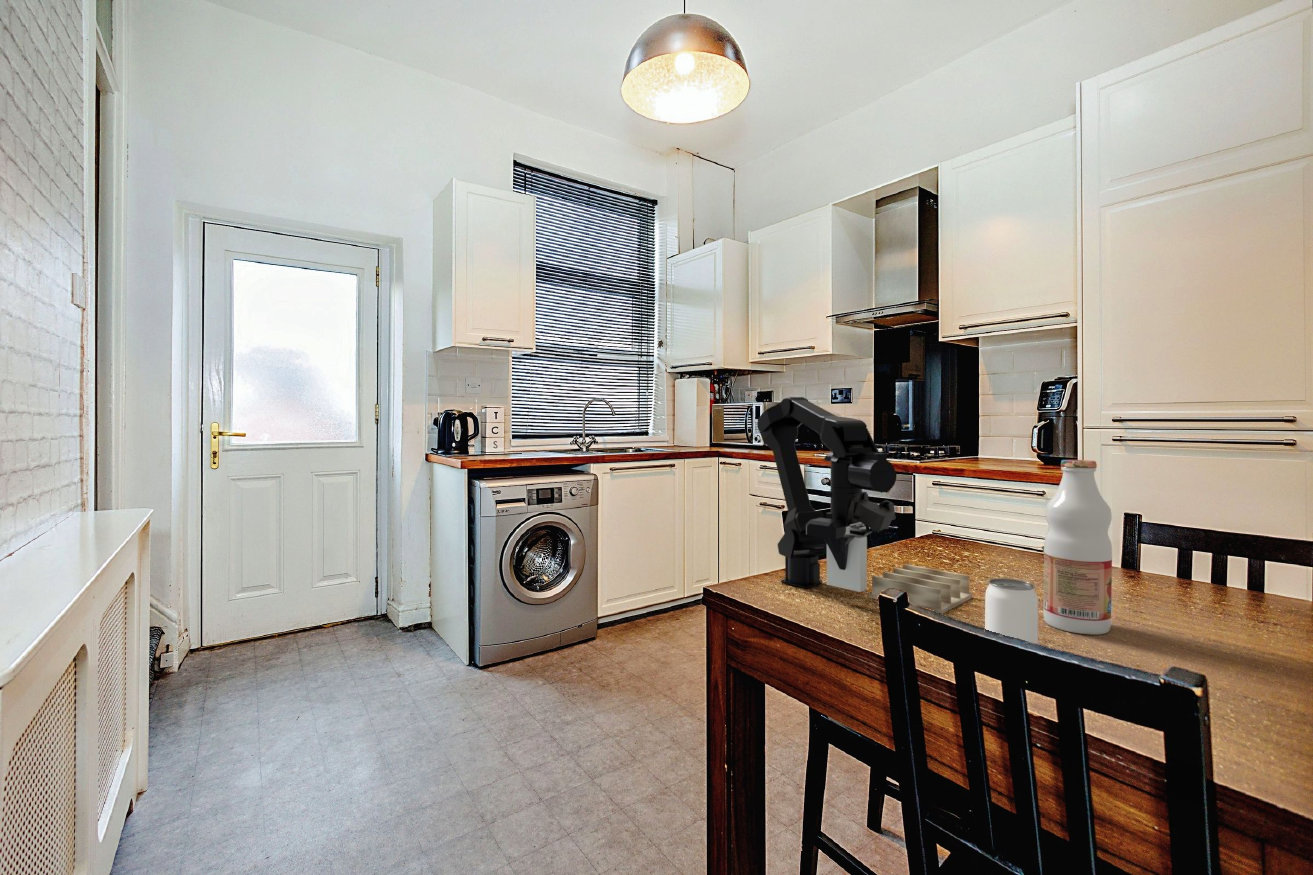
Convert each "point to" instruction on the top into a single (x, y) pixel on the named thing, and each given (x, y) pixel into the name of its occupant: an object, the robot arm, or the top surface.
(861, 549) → the grey upright domino
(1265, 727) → the top surface
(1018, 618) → the can
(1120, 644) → the top surface
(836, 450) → the robot arm
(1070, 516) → the fruit juice
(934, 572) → the rack
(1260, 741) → the top surface
